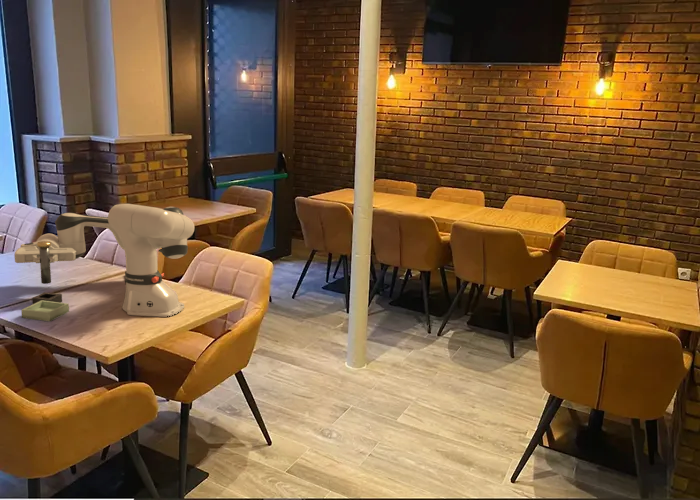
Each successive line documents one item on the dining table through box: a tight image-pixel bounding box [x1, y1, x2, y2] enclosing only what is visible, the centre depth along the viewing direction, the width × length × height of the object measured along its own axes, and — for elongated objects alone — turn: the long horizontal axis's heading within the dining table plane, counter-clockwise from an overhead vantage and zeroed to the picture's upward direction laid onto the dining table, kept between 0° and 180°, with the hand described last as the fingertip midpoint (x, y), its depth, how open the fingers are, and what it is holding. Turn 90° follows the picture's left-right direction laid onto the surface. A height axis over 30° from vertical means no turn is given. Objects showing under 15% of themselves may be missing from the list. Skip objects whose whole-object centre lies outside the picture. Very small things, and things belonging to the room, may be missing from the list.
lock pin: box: [36, 241, 52, 285], centre depth 210 cm, size 4×4×15 cm
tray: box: [21, 300, 70, 322], centre depth 203 cm, size 11×11×3 cm
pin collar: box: [31, 291, 63, 305], centre depth 213 cm, size 7×7×3 cm
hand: (44, 260), depth 209 cm, fingers closed on lock pin, 3 cm apart
